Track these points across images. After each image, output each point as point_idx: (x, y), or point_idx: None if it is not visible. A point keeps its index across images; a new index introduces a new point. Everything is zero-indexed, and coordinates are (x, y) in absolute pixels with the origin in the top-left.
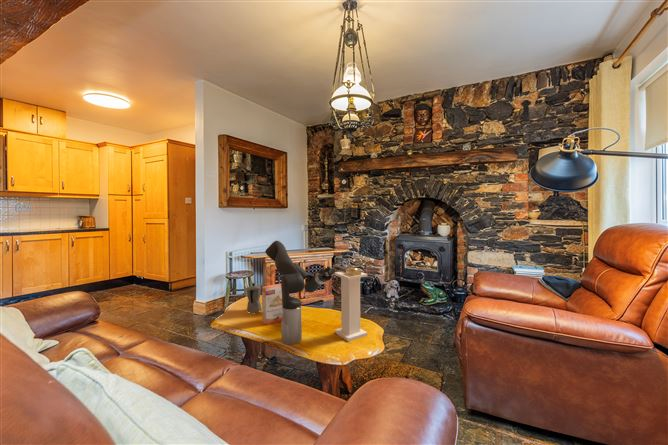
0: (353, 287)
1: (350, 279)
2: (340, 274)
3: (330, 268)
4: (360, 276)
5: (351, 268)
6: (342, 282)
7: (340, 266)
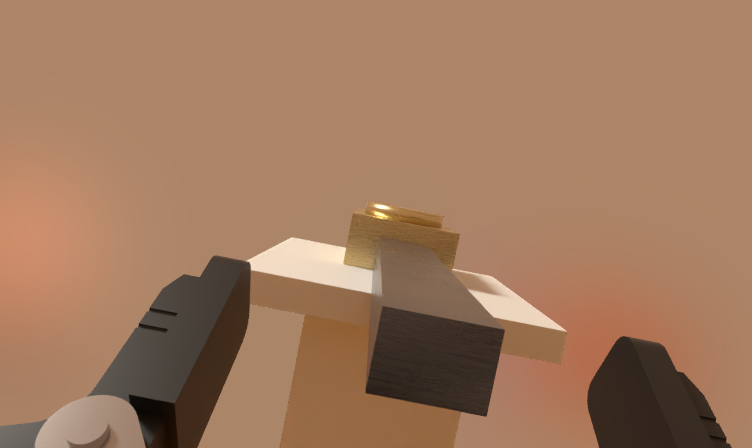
0: None
1: None
2: (517, 299)
3: (600, 370)
4: None
5: (423, 212)
6: None
7: (397, 268)
